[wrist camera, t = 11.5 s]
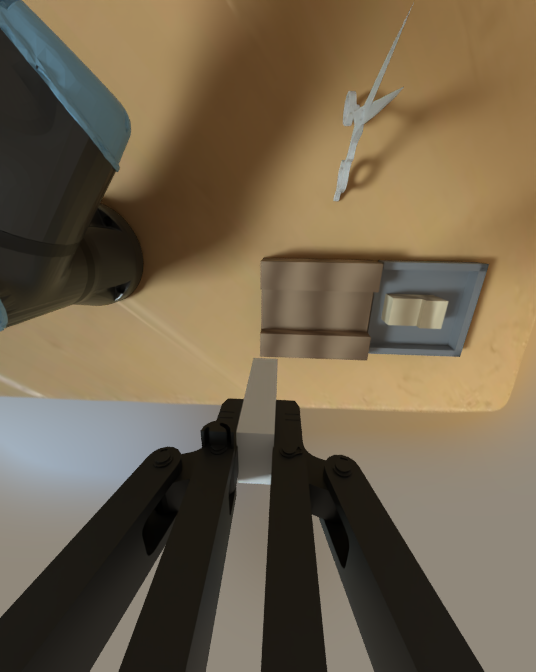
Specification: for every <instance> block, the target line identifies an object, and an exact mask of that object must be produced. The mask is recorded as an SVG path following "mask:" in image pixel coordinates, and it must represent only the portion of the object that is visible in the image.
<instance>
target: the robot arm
mask: <svg viewBox="0 0 536 672" xmlns="http://www.w3.org/2000/svg"><path fill="white" fill-rule="evenodd" d="M130 135H131V123H130V119H129V117H128V114H127V112H126V110H125V109H124V107H123V106H122V104H121V103H120V102H119V101H118V100H117V98H116V97H115V96H114V95H113V94H112V93H111V92H110V91H109V90H108V88H107V87H106V86H105V85H104V84H103V83H102V82H101V81H100V80H99V79H98V78H97V77H96V76H95V75H94V74H93V73H92V71H91V70H90V69H89V68H88V67H87V66H86V65H85V64H84V63H83V62H82V61H81V60H80V59H79V58H78V57H77V56H76V55H75V54H74V53H73V52H72V51H71V50H70V49H69V48H68V47H67V46H66V44H65V43H64V42H63V41H62V40H61V39H60V38H59V37H58V36H57V35H56V34H55V33H54V32H53V31H52V30H51V29H50V28H49V27H48V26H47V25H46V24H45V23H44V22H43V21H42V20H41V19H40V18H39V17H38V16H37V15H36V14H35V13H34V12H33V11H32V10H31V9H30V8H29V7H28V6H27V5H26V4H25V3H24V2H23V1H22V0H0V331H2V330H4V328H7V327H9V326H12V325H15V324H18V323H21V322H24V321H27V320H30V319H32V318H35V317H38V316H41V315H44V314H47V313H50V312H53V311H55V310H58V309H61V308H64V307H67V306H70V305H72V304H76V305H92V306H102V305H108V304H112V303H115V302H117V301H120V300H122V299H124V298H126V297H127V296H129V295H130V294H131V293H132V292H133V291H134V290H135V289H136V287H137V286H138V284H139V282H140V279H141V276H142V272H143V256H142V251H141V247H140V244H139V242H138V239H137V237H136V235H135V233H134V232H133V230H132V229H131V227H130V226H129V225H128V223H127V222H126V221H125V220H124V219H123V218H122V217H121V216H120V215H119V214H118V213H116V212H115V211H114V210H112V209H111V208H109V207H107V206H105V205H103V204H101V203H100V202H101V200H102V198H103V196H104V194H105V192H106V190H107V188H108V186H109V184H110V182H111V180H112V178H113V176H114V174H115V172H118V171H119V169H120V166H119V162H120V160H121V157H122V155H123V152H124V150H125V148H126V145H127V143H128V140H129V138H130ZM277 360H278V359H265V358H253V363H252V367H251V371H250V376H249V380H248V384H247V388H246V393H245V397H244V399H227V400H226V401H225V402H224V403H223V404H222V406H221V409H220V412H219V415H218V418H217V420H216V421H213V422H210V423H208V424H207V425H205V426H204V427H203V428H202V430H201V440H202V448H201V449H199V450H197V451H194V452H190V453H185V454H181V453H180V452H179V450H178V449H176V448H174V447H164V448H160V449H158V450H156V451H154V452H153V453H152V454H150V455H149V456H148V457H147V458H146V459H145V460H144V461H143V463H142V464H141V465H140V466H139V467H138V468H137V469H136V470H135V471H134V472H133V473H132V475H131V476H130V477H129V478H128V479H127V480H126V481H125V482H124V483H123V484H122V485H121V487H120V488H119V489H118V490H117V491H116V492H115V493H114V494H113V495H112V496H111V497H110V499H109V500H108V501H107V502H106V503H105V504H104V505H103V506H102V507H101V509H100V510H99V511H98V512H97V513H96V514H95V515H94V516H93V517H92V518H91V520H89V522H88V523H87V524H86V525H85V526H84V527H83V528H82V529H81V530H80V531H79V532H78V534H77V535H76V536H75V537H74V538H73V539H72V540H71V541H70V542H69V543H68V545H67V546H66V547H65V548H64V549H63V550H62V551H61V552H60V553H59V554H58V556H56V558H55V559H54V560H53V561H52V562H51V563H50V564H49V565H48V566H47V567H46V569H45V570H44V571H43V572H42V573H41V574H40V575H39V576H38V577H37V579H35V580H34V582H33V583H32V584H31V585H30V586H29V587H28V588H27V589H26V590H25V591H24V593H23V594H22V595H21V596H20V597H19V598H18V599H17V600H16V601H15V602H14V604H13V605H12V606H11V607H10V608H9V609H8V610H7V611H6V612H5V613H4V614H3V616H2V617H1V618H0V672H90V670H91V668H92V667H93V665H94V663H95V661H96V660H97V658H98V657H99V655H100V653H101V652H102V650H103V648H104V646H105V645H106V643H107V642H108V640H109V638H110V636H111V635H112V633H113V632H114V630H115V628H116V627H117V625H118V623H119V622H120V620H121V618H122V617H123V615H124V613H125V612H126V610H127V608H128V607H129V605H130V603H131V602H132V600H133V598H134V597H135V595H136V593H137V592H138V590H139V588H140V586H141V585H142V583H143V582H144V580H145V578H146V576H147V575H148V573H149V572H150V570H151V568H152V567H153V565H154V563H155V561H156V560H157V558H158V557H159V555H160V553H161V552H162V550H163V548H164V547H165V548H164V552H163V554H162V556H161V559H160V562H159V565H158V567H157V570H156V573H155V575H154V578H153V581H152V583H151V586H150V589H149V592H148V594H147V597H146V599H145V602H144V605H143V607H142V610H141V613H140V615H139V618H138V621H137V623H136V626H135V629H134V631H133V634H132V637H131V640H130V642H129V645H128V648H127V650H126V653H125V656H124V658H123V661H122V664H121V666H120V669H119V672H206V666H207V661H208V655H209V649H210V643H211V638H212V632H213V626H214V620H215V615H216V609H217V603H218V598H219V592H220V586H221V580H222V575H223V569H224V563H225V557H226V552H227V546H228V540H229V535H230V529H231V523H232V517H233V511H234V505H235V500H236V483H237V478H238V483H255V484H271V488H270V509H269V529H268V546H267V565H266V584H265V605H264V623H263V643H262V661H261V663H262V664H261V672H327V665H326V655H325V645H324V635H323V625H322V614H321V604H320V595H319V584H318V574H317V564H316V553H315V543H314V534H313V523H312V514H313V515H315V516H317V517H319V520H320V523H321V525H322V528H323V531H324V534H325V536H326V539H327V542H328V545H329V547H330V550H331V553H332V556H333V559H334V561H335V564H336V567H337V569H338V572H339V575H340V578H341V581H342V583H343V586H344V589H345V591H346V595H347V597H348V600H349V603H350V606H351V608H352V611H353V614H354V617H355V619H356V622H357V625H358V627H359V630H360V633H361V636H362V639H363V642H364V644H365V647H366V650H367V653H368V655H369V658H370V661H371V664H372V666H373V669H374V672H484V670H483V669H482V667H481V665H480V664H479V662H478V660H477V659H476V657H475V655H474V654H473V652H472V651H471V649H470V647H469V646H468V644H467V642H466V641H465V639H464V637H463V636H462V634H461V633H460V631H459V629H458V628H457V626H456V624H455V623H454V621H453V620H452V618H451V616H450V615H449V613H448V611H447V610H446V608H445V606H444V605H443V603H442V602H441V600H440V598H439V597H438V595H437V593H436V592H435V590H434V589H433V587H432V585H431V583H430V582H429V581H428V579H427V577H426V575H425V574H424V572H423V570H422V569H421V567H420V565H419V564H418V562H417V561H416V559H415V557H414V556H413V554H412V552H411V551H410V549H409V547H408V546H407V544H406V543H405V541H404V539H403V538H402V536H401V534H400V533H399V531H398V529H397V528H396V526H395V525H394V523H393V522H392V520H391V518H390V516H389V515H388V513H387V511H386V510H385V508H384V507H383V505H382V503H381V502H380V500H379V498H378V497H377V495H376V493H375V492H374V490H373V489H372V487H371V485H370V484H369V482H368V480H367V479H366V477H365V475H364V474H363V472H362V471H361V469H360V467H359V466H358V465H357V464H356V462H355V461H354V460H352V459H350V458H349V457H346V456H343V455H333V456H331V457H329V458H328V459H327V460H323V459H319V458H317V457H315V456H312V455H311V454H310V453H308V452H307V451H306V449H305V448H304V445H303V440H302V429H301V419H300V408H299V406H298V404H297V403H296V402H295V401H288V400H276V392H277ZM165 545H166V546H165Z"/></svg>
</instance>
